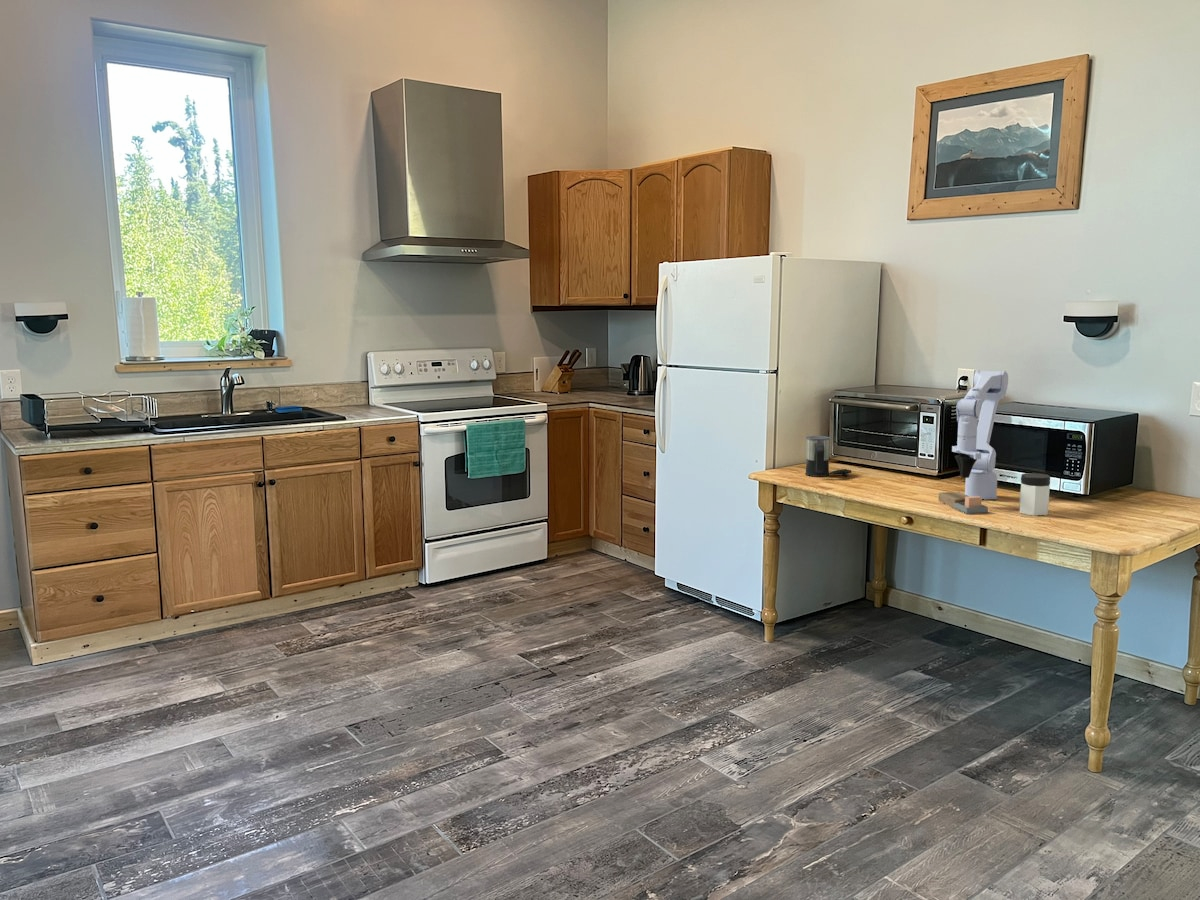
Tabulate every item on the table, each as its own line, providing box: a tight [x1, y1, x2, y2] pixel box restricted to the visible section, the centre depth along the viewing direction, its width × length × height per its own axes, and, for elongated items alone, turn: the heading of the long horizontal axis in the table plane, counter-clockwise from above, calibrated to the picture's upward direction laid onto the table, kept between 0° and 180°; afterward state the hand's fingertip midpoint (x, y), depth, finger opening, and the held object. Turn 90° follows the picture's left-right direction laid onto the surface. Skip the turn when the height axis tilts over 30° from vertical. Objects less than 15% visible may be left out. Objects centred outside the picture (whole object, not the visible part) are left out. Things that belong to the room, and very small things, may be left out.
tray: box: [953, 502, 989, 515], centre depth 275 cm, size 7×8×2 cm
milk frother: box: [804, 435, 852, 477], centre depth 334 cm, size 14×16×15 cm
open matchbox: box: [938, 491, 969, 509], centre depth 284 cm, size 7×10×3 cm, turn 6°
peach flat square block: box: [965, 496, 982, 507], centre depth 274 cm, size 4×4×2 cm
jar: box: [1018, 472, 1051, 517], centre depth 271 cm, size 9×8×12 cm
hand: (964, 477), depth 281 cm, fingers closed
